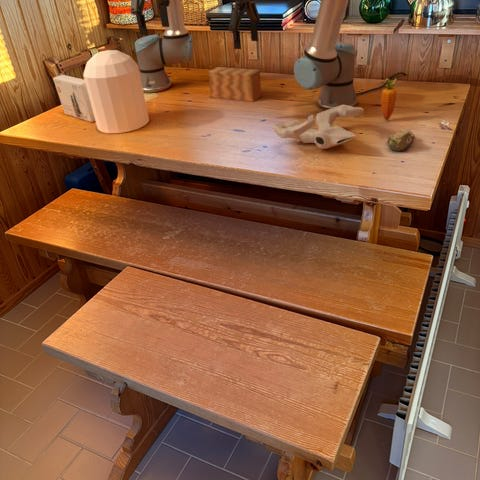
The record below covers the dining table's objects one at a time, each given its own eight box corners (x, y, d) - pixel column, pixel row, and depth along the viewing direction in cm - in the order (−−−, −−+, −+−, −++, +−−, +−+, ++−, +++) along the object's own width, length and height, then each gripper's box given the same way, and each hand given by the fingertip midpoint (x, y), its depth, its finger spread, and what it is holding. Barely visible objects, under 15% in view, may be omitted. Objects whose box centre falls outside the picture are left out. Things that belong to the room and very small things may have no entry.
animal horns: (271, 156, 148) (270, 121, 142) (282, 128, 169) (280, 95, 163) (362, 157, 142) (365, 119, 136) (361, 127, 163) (363, 93, 157)
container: (103, 137, 175) (82, 61, 159) (92, 121, 191) (73, 50, 175) (155, 125, 181) (141, 50, 166) (141, 110, 198) (127, 41, 182)
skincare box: (63, 114, 202) (52, 77, 193) (74, 110, 205) (63, 74, 196) (91, 122, 190) (80, 83, 181) (101, 118, 193) (91, 80, 184)
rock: (408, 140, 153) (379, 139, 152) (414, 122, 149) (384, 120, 148) (421, 154, 144) (391, 153, 143) (428, 135, 140) (396, 133, 139)
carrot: (394, 118, 167) (398, 76, 158) (393, 123, 163) (397, 80, 154) (379, 117, 168) (383, 75, 160) (378, 122, 165) (382, 80, 156)
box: (211, 97, 206) (208, 71, 199) (220, 91, 211) (217, 66, 204) (252, 101, 196) (251, 74, 189) (261, 96, 201) (259, 69, 194)
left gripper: (129, -35, 142) (143, 38, 154) (173, -43, 160) (182, 23, 172) (110, -34, 145) (125, 38, 157) (155, -42, 163) (165, 23, 175)
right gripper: (233, -10, 165) (238, 52, 177) (266, -20, 182) (269, 38, 194) (215, -10, 169) (222, 51, 181) (250, -19, 186) (253, 37, 198)
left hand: (155, 30), depth 164 cm, fingers open, 13 cm apart
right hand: (246, 44), depth 187 cm, fingers open, 13 cm apart
